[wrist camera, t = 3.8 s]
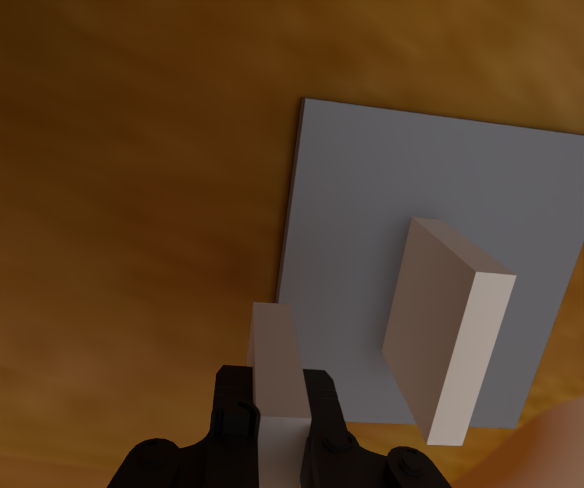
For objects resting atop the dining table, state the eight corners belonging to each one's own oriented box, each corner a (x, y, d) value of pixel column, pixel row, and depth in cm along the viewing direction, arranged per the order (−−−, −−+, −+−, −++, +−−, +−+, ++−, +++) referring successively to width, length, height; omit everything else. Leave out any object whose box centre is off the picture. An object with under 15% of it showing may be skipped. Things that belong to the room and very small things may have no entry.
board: (302, 96, 22) (305, 98, 21) (598, 136, 24) (620, 140, 23) (262, 400, 28) (262, 417, 27) (503, 412, 30) (515, 428, 29)
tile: (411, 216, 23) (476, 271, 17) (444, 220, 23) (520, 275, 17) (381, 351, 26) (426, 444, 19) (410, 353, 26) (465, 445, 20)
